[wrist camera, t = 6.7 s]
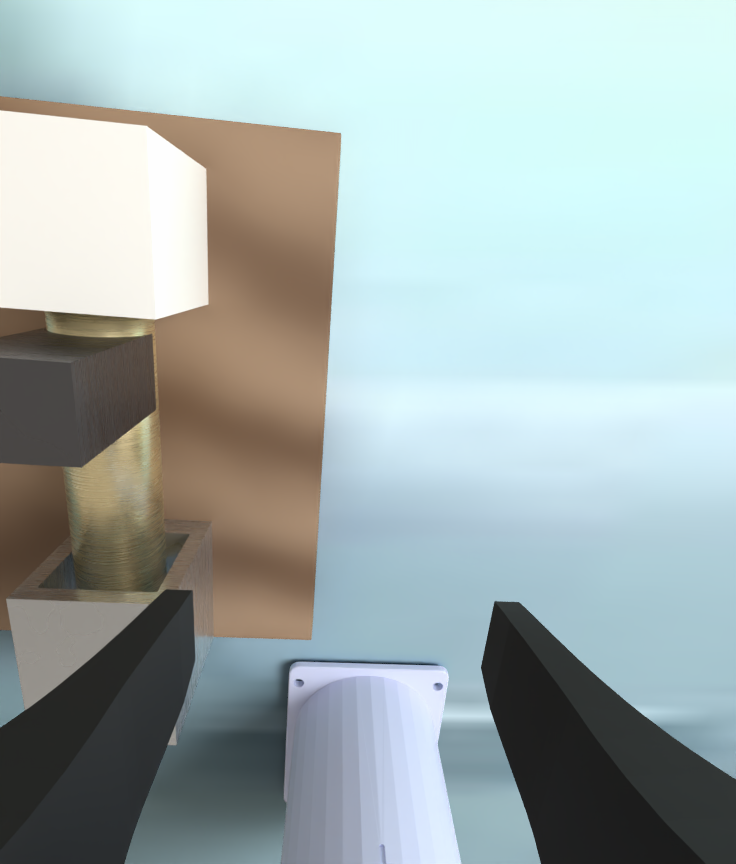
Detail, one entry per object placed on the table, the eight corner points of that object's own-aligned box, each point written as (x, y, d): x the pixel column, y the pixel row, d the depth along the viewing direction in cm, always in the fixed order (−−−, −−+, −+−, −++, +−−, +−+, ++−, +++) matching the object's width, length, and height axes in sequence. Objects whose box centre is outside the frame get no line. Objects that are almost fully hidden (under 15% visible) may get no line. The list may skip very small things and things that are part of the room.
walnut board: (312, 625, 24) (311, 639, 23) (12, 614, 23) (-2, 629, 22) (341, 140, 18) (341, 133, 17) (-75, 95, 17) (-100, 85, 16)
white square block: (208, 304, 18) (155, 319, 13) (67, 292, 18) (-45, 303, 13) (206, 168, 17) (146, 125, 12) (53, 153, 17) (-79, 102, 11)
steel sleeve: (213, 636, 23) (176, 745, 18) (101, 633, 23) (30, 742, 17) (212, 521, 21) (169, 604, 16) (90, 515, 21) (6, 598, 16)
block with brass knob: (181, 570, 20) (109, 706, 14) (99, 566, 20) (-10, 703, 14) (167, 210, 16) (56, 174, 10) (63, 200, 16) (-118, 157, 10)
